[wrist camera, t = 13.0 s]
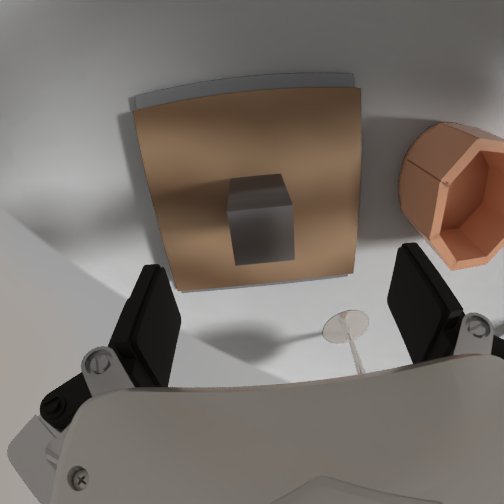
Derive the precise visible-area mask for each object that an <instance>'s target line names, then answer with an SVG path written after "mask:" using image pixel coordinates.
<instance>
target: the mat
mask: <svg viewBox="0 0 504 504" xmlns="http://www.w3.org/2000/svg"><path fill="white" fill-rule="evenodd" d="M299 87H353V88H354V78H353V74H347V73H288V74H269V75H256V76H245V77H236V78H227V79H219V80H212V81H206V82H199V83H193V84H188V85H182V86H177V87H172V88H167V89H162V90H158V91H153V92H149V93H145V94H141V95H137V96H135V102H136V107H137V110H139V109H143V108H147V107H151V106H156V105H160V104H165V103H170V102H175V101H181V100H186V99H192V98H198V97H204V96H211V95H218V94H225V93H233V92H242V91H252V90H264V89H278V88H299ZM345 276H348V274H343V275H335V276H327V277H318V278H310V279H301V280H292V281H282V282H273V283H263V284H253V285H243V286H232V287H221V288H210V289H198V290H186V291H181V292H182V293H187V292H199V291H211V290H223V289H234V288H245V287H255V286H265V285H275V284H284V283H294V282H303V281H312V280H320V279H329V278H337V277H345Z"/></svg>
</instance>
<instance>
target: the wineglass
mask: <svg viewBox="0 0 504 504" xmlns="http://www.w3.org/2000/svg"><path fill="white" fill-rule="evenodd" d="M368 325H369V318H368V316H367V315H366V314H365V313H364V312H361V311H358V310H349V311H345V312H342V313H340V314H338V315H335V316H334V317H333V318H331V319H330V320H329V321H328V322H327V323H326V325H325V326H324V329H323V336H324V337H325V339H326V340H327V341H329V342H331V343H336V344H341V343H347V342H349V344H350V348H351V352H352V355H353V359H354V363H355V367H356V371H357V374H358V375H359V374H365V373H366V372H365V369H364V367H363V364H362V362H361V359H360V356H359V354H358V351H357V349H356V346H355V344H354V341H353V340H355V339H357V338H358V337H360V336H361V335H362V334H363V333H364V332H365V331H366V330H367V328H368Z"/></svg>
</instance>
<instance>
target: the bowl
mask: <svg viewBox="0 0 504 504" xmlns="http://www.w3.org/2000/svg"><path fill="white" fill-rule="evenodd" d="M398 192H399V200H400V204H401V210H402V212H403V214H404V215H405V216H406V218H407V219H408V220H409V222H410V223H411V224H412V225H413V226H414V227H415V228H416V230H417V231H418V232H419V233H420V235H421V236H422V237H423V238H424V240H425V241H426V242H427V243H428V244H429V245H430V246H431V248H432V249H433V250H434V251H435V252H436V253H437V255H438V256H439V257H440V258H441V259H442V260H443V262H444V263H445V264H446V265H447V266H448V268H449V269H450V270H458V269H464V268H469V267H474V266H480V265H485V264H486V263H488V262H489V261H490V260H491V259H492V258H493V257H494V256H495V255H496V254H497V252H498V251H499V250H500V249H501V248H502V247H503V246H504V139H503V138H500V137H498V136H496V135H493V134H491V133H489V132H486V131H484V130H481V129H479V128H476V127H469V126H463V125H460V124H457V123H449V122H447V123H439V124H437V125H434V126H432V127H430V128H428V129H427V130H426V131H424V132H423V133H422V134H421V135H420V136H419V137H418V138H417V139H416V140H415V141H414V142H413V144H412V145H411V147H410V148H409V150H408V152H407V154H406V156H405V158H404V161H403V163H402V166H401V170H400V175H399V182H398Z"/></svg>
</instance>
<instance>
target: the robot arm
mask: <svg viewBox="0 0 504 504" xmlns="http://www.w3.org/2000/svg"><path fill="white" fill-rule="evenodd" d="M387 303H388V306H389V308H390V311H391V313H392V315H393V317H394V319H395V322H396V324H397V326H398V328H399V331H400V333H401V335H402V338H403V340H404V342H405V345H406V347H407V350H408V352H409V355H410V357H411V360H412V362H413V364H411V365H406V366H402V367H397V368H392V369H387V370H382V371H376V372H371V373H365V374H359V375H353V376H346V377H339V378H332V379H324V380H316V381H307V382H298V383H287V384H276V385H261V386H243V387H203V388H202V387H196V388H195V387H194V388H178V387H177V388H175V387H170V388H169V387H168V383H169V378H170V373H171V368H172V363H173V358H174V353H175V349H176V343H177V339H178V335H179V330H180V326H181V316H180V313H179V310H178V307H177V304H176V301H175V298H174V295H173V292H172V289H171V286H170V283H169V280H168V277H167V274H166V271H165V269H164V268H163V267H160V265H159V264H151V265H144V267H143V269H142V271H141V273H140V276H139V278H138V280H137V282H136V285H135V287H134V289H133V291H132V294H131V296H130V298H129V299H128V300H127V301H126V303H125V305H124V308H123V310H122V313H121V315H120V317H119V320H118V322H117V325H116V327H115V330H114V332H113V335H112V337H111V339H110V342H109V345H108V347H104V346H102V347H97V348H94V349H92V350H91V351H89V352H88V353H87V354H86V355H85V356H84V358H83V360H82V363H81V369H82V372H81V373H80V374H78V375H77V376H75V377H73V378H72V379H70V380H69V381H67V382H66V383H64V384H63V385H61V386H59V387H58V388H56V389H55V390H53V391H52V392H50V393H49V394H47V395H46V396H45V397H44V399H43V400H42V402H41V405H40V415H39V416H36V415H35V416H34V417H33V418H32V419H31V420H30V421H29V422H28V423H27V424H26V426H25V427H24V428H23V429H22V430H21V431H20V433H19V434H17V436H16V437H15V438H14V439H13V440H12V441H11V443H10V444H9V446H8V450H7V452H8V458H9V460H10V462H11V464H12V465H13V467H14V468H15V470H16V471H17V472H18V474H19V475H20V477H21V478H22V480H23V481H24V482H25V484H26V485H27V486H28V488H29V489H30V490H31V492H32V493H33V494H34V496H35V497H36V498H37V499H38V501H39V502H40V503H41V504H504V340H503V339H501V338H499V337H497V336H495V335H494V328H493V326H492V323H491V322H490V321H489V319H487V318H486V317H485V316H483V315H481V314H479V313H469V314H466V315H465V314H464V312H463V308H462V306H461V305H460V303H459V302H458V300H457V299H456V297H455V296H454V294H453V293H452V291H451V290H450V288H449V287H448V285H447V284H446V282H445V281H444V279H443V278H442V277H441V275H440V274H439V272H438V271H437V269H436V268H435V267H434V265H433V264H432V263H431V261H430V260H429V258H428V257H427V256H426V254H425V253H424V252H423V250H422V249H421V248H420V247H419V245H418V244H417V243H415V242H414V243H404V244H402V246H401V247H400V248H398V251H397V256H396V261H395V266H394V271H393V275H392V280H391V284H390V289H389V293H388V297H387Z"/></svg>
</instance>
